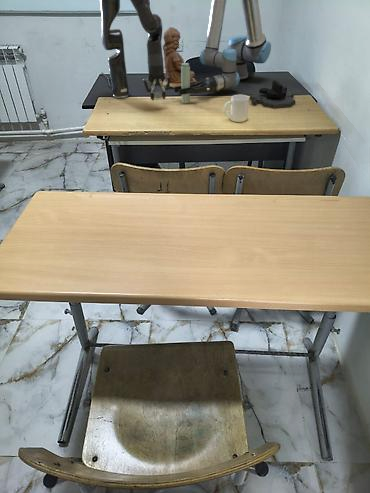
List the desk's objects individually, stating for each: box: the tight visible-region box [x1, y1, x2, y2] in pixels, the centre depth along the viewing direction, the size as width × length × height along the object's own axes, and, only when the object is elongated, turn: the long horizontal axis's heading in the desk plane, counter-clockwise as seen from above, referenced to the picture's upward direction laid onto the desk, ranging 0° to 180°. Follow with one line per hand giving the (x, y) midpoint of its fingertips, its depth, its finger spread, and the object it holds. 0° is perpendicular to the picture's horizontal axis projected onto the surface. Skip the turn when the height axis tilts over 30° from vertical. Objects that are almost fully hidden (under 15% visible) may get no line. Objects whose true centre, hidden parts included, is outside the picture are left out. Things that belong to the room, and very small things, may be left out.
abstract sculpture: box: [249, 79, 296, 109], centre depth 189 cm, size 25×9×20 cm
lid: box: [153, 91, 163, 99], centre depth 183 cm, size 5×5×2 cm
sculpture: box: [162, 27, 197, 88], centre depth 214 cm, size 27×24×30 cm
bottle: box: [181, 62, 191, 104], centre depth 189 cm, size 4×4×19 cm
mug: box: [222, 94, 250, 123], centre depth 170 cm, size 12×8×10 cm
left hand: (158, 99), depth 184 cm, fingers closed on lid, 5 cm apart
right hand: (176, 91), depth 189 cm, fingers closed on bottle, 5 cm apart
